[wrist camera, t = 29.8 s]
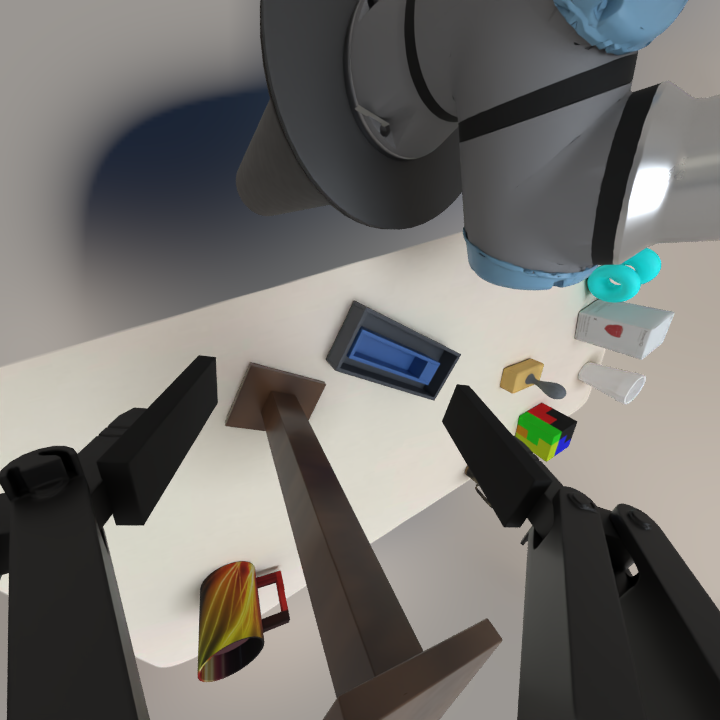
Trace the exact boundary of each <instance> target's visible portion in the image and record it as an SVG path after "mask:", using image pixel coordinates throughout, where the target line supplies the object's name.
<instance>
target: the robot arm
mask: <svg viewBox="0 0 720 720" xmlns="http://www.w3.org/2000/svg"><path fill="white" fill-rule="evenodd" d="M687 1H688V0H359V1H358V2H357V4H356V6H355V8H354V10H353V12H352V15H351V17H350V20H349V24H348V27H347V31H346V37H345V43H344V55H343V67H344V80H345V87H346V92H347V97H348V101H349V104H350V107H351V110H352V113H353V116H354V118H355V120H356V122H357V125H358V126H359V128H360V130H361V132H362V133H363V135H364V136H365V138H366V139H367V140H368V142H369V143H370V144H371V145H372V146H373V147H374V148H375V149H376V150H377V151H378V152H380V153H381V154H383V155H384V156H386V157H388V158H390V159H393V160H397V161H410V160H414V159H417V158H420V157H423V156H425V155H427V154H429V153H431V152H432V151H434V150H435V149H436V148H437V147H438V146H440V145H441V144H442V143H443V142H444V141H445V140H446V139H447V138H448V137H449V135H450V134H451V133H452V132H453V131H454V130H455V129H456V128H457V127H459V147H460V163H461V179H462V195H463V211H464V228H463V235H464V239H465V241H466V244H467V252H468V261H469V264H470V267H471V268H472V269H473V270H474V271H475V273H476V274H477V275H478V276H479V277H480V278H482V279H484V280H485V281H487V282H490V283H492V284H495V285H498V286H502V287H507V288H512V289H520V290H547V289H551V288H552V286H557V287H566V286H570V285H574V284H576V283H579V282H581V281H582V280H584V279H586V278H588V277H589V276H590V275H591V274H592V272H593V271H594V270H595V269H596V268H597V267H598V265H620V264H622V263H623V262H625V261H627V260H628V259H630V258H631V257H633V256H634V255H636V254H637V253H639V252H640V251H642V250H643V249H645V248H647V247H649V246H652V245H654V244H657V243H677V242H698V241H718V240H720V95H717V96H713V97H709V98H694V97H692V96H691V95H689V94H688V93H686V92H685V91H684V90H682V89H681V88H680V87H678V86H677V85H676V84H674V83H673V82H671V81H666V82H662V83H660V84H657V85H654V86H651V87H648V88H645V89H642V90H639V91H636V92H631V91H630V90H631V84H632V83H630V82H632V79H633V75H634V70H635V65H636V60H637V54H638V50H639V49H642V48H644V47H646V46H647V45H649V44H650V43H651V42H652V41H653V40H654V38H656V37H657V36H658V35H660V34H661V33H663V32H664V31H665V30H666V29H667V28H668V27H669V26H670V25H671V24H672V23H673V22H674V20H675V19H676V18H677V16H678V15H679V14H680V12H681V11H682V10H683V8H684V6H685V4H686V3H687ZM217 403H218V397H217V375H216V357H209V356H200V355H199V356H198V357H197V358H196V359H195V360H194V361H193V362H192V363H191V364H190V365H189V366H188V367H187V368H186V369H185V370H184V371H183V372H182V373H181V374H180V375H179V376H178V377H177V379H176V380H175V381H174V382H173V383H172V384H171V385H170V386H169V387H168V388H167V389H166V390H165V391H164V392H163V393H162V394H161V395H160V396H159V397H158V398H157V399H156V400H155V401H154V402H153V403H152V404H151V405H150V406H149V408H148V409H145V408H133V409H131V410H129V411H127V412H125V413H123V414H121V415H119V416H118V417H117V418H116V419H115V420H114V421H113V422H112V423H110V424H109V425H108V428H105V429H104V430H103V431H102V432H101V433H100V434H99V436H96V437H95V438H94V439H93V440H92V441H91V442H90V443H89V444H88V445H87V446H86V447H85V448H84V449H82V450H81V451H80V452H79V453H78V454H77V453H76V451H75V450H74V449H73V448H70V447H67V446H51V447H46V448H42V449H38V450H35V451H32V452H29V453H27V454H24V455H22V456H20V457H19V458H17V459H15V460H13V461H11V462H10V463H9V464H8V465H6V466H5V467H4V468H3V469H2V470H1V471H0V484H1V486H2V488H3V490H4V491H5V493H2V494H0V579H1V576H2V575H3V574H7V573H9V612H8V614H9V615H8V683H7V684H8V685H7V720H150V718H149V714H148V710H147V706H146V702H145V698H144V693H143V689H142V685H141V681H140V677H139V672H138V668H137V664H136V660H135V656H134V652H133V647H132V643H131V639H130V635H129V631H128V627H127V622H126V618H125V614H124V610H123V606H122V602H121V597H120V593H119V589H118V585H117V581H116V577H115V572H114V568H113V564H112V560H111V556H110V552H109V547H108V543H107V539H106V535H105V531H104V528H103V526H104V525H105V523H106V522H107V521H108V519H109V518H110V516H111V515H112V514H113V517H114V520H115V523H116V525H144V524H145V522H146V521H147V519H148V517H149V516H150V514H151V512H152V511H153V509H154V507H155V506H156V504H157V502H158V501H159V499H160V497H161V496H162V494H163V493H164V491H165V489H166V488H167V486H168V484H169V483H170V481H171V479H172V478H173V476H174V474H175V473H176V471H177V469H178V468H179V466H180V464H181V463H182V461H183V459H184V458H185V456H186V454H187V453H188V451H189V450H190V448H191V446H192V445H193V443H194V441H195V440H196V438H197V436H198V435H199V433H200V431H201V430H202V428H203V426H204V425H205V423H206V421H207V420H208V418H209V416H210V415H211V413H212V411H213V410H214V408H215V407H216V405H217ZM442 422H443V424H444V426H445V427H446V429H447V431H448V433H449V434H450V436H451V438H452V439H453V441H454V443H455V445H456V446H457V448H458V450H459V451H460V453H461V455H462V457H463V458H464V460H465V462H466V463H467V465H468V467H469V469H470V470H471V472H472V474H473V475H474V477H475V479H476V480H477V482H478V484H479V486H480V487H481V489H482V491H483V492H484V494H485V496H486V497H487V499H488V501H489V503H490V504H491V506H492V508H493V509H494V511H495V513H496V515H497V516H498V518H499V520H500V521H501V523H502V525H503V526H504V527H521V526H522V524H523V523H524V521H525V520H526V518H528V520H529V521H530V522H531V524H532V527H531V528H530V530H529V531H528V532H527V534H526V535H525V536H524V538H523V539H522V541H521V544H522V545H524V544H525V542H527V541H528V553H527V569H526V585H525V601H524V618H523V619H524V620H523V635H522V651H521V668H520V684H519V700H518V717H517V720H720V611H719V610H718V608H717V607H716V605H715V604H714V603H713V601H712V600H711V598H710V597H709V595H708V594H707V593H706V591H705V590H704V588H703V587H702V586H701V585H700V583H699V581H698V580H697V579H696V577H695V576H694V574H693V573H692V572H691V571H690V569H689V568H688V566H687V565H686V564H685V562H684V561H683V559H682V558H681V556H680V555H679V554H678V552H677V551H676V549H675V548H674V547H673V545H672V544H671V542H670V541H669V540H668V538H667V537H666V536H665V534H664V533H663V531H662V530H661V528H660V527H659V526H658V525H657V524H656V523H655V522H654V521H653V520H652V519H651V518H650V517H649V516H648V515H647V514H645V513H644V512H642V511H641V510H639V509H636V508H634V507H632V506H630V505H626V504H619V505H617V506H616V507H615V508H614V510H613V511H610V510H606V509H603V508H600V507H597V506H596V505H595V503H593V501H592V500H591V499H590V498H588V497H587V496H586V495H585V494H583V493H581V492H580V491H578V490H576V489H573V488H571V487H566V486H563V485H562V484H561V483H560V482H559V481H558V480H557V478H556V477H555V476H554V475H553V474H552V473H551V472H550V471H549V470H548V468H547V467H546V466H545V465H544V464H543V463H542V462H541V461H539V459H538V457H537V456H536V455H535V454H533V452H532V451H531V450H530V449H529V447H528V446H527V445H526V444H525V443H523V442H522V441H521V440H519V439H518V438H517V437H515V436H513V435H512V434H511V433H510V432H509V431H508V430H507V429H506V427H505V426H504V425H503V424H502V423H501V422H500V421H499V419H498V418H497V417H496V416H495V415H494V414H493V413H492V411H491V410H490V409H489V408H488V407H487V406H486V405H485V404H484V402H483V401H482V400H481V399H480V398H479V397H478V396H477V394H476V393H475V392H474V391H473V390H472V389H471V388H470V386H467V385H459V384H457V385H456V388H455V390H454V393H453V395H452V398H451V400H450V403H449V405H448V408H447V410H446V413H445V415H444V418H443V420H442ZM633 563H635V564H636V566H637V569H638V573H637V574H636V575H635V576H632V574H631V572H630V571H629V569H628V568H629V567H630V566H631V565H632V564H633Z"/></svg>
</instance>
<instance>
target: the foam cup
mask: <svg viewBox="0 0 720 720" xmlns="http://www.w3.org/2000/svg"><path fill="white" fill-rule="evenodd" d="M578 379H579V380H581V381H583V382H585V383H586V384H588V385H590V386H592V387H594V388H595V389H597V390H599V391H601V392H603V393H604V394H606V395H608V396H610V397H612V398H614V399H615V400H616V401H619V402H621V403H623V404H628V403H630V402H631V401H632V400H633V399H634V398H635V397H636V396H637V395H638V393H639V392H640V390H641V389H642V387H643V385H644V383H645V380H646V376H645V375H642V374H639V373H636V372H630V371H625V370H621V369H617V368H612V367H609V366H604V365H600V364H596V363H591V362H588V363H586V364H585V365H584V366H583V367H582V369H581V370H580V372H579V375H578Z"/></svg>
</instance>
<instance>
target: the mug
mask: <svg viewBox="0 0 720 720" xmlns="http://www.w3.org/2000/svg"><path fill="white" fill-rule="evenodd" d="M273 583H276V585H277V591H278V596H279V602H280V606H281V612H280V613H278V614H274V615H272V616H269V617H266V618H264V619H261V612H260V604H259V596H258V588H261V587H264V586H267V585H270V584H273ZM284 590H285V589H284V584H283V579H282V574H281V571H277V572H274V573H271V574H267V575H264V576H261V577H257V578H256V573H255V567H254V565H253V564H251V563H249V562H243V561H241V562H234V563H231V564H228V565H225V566H223V567H221V568H219V569H217V570H215V571H214V572H213V573H211V574H210V575H209V576H208V577H207V578H206V579H205V580H204V581H203V583H202V585H201V588H200V615H199V647H198V679H199V680H200V681H202V682H213V681H217V680H220V679H223V678H225V677H228V676H230V675H232V674H234V673H236V672H237V671H239V670H241V669H242V668H243V667H245V666H246V665H248V664H249V663H250V662H251V661H253V660H254V659H255V658H256V657H257V656H258V654H259V653H260V651H261V650H262V649H263V646H264V636H263V633H264V632H266V631H268V630H271V629H273V628H276V627H278V626H281V625H283V624H286V623H288V622H289V620H290V617H289V613H288V607H287V602H286V597H285V592H284Z"/></svg>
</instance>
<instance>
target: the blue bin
mask: <svg viewBox="0 0 720 720" xmlns="http://www.w3.org/2000/svg"><path fill="white" fill-rule="evenodd" d="M346 356H347V357H348V358H350V359H353V360H356V361H359V362H362V363H365V364H368V365H370V366H373V367H376V368H379V369H382V370H385V371H388V372H391V373H394V374H397V375H399V376H402V377H405V378H408V379H411V380H414V381H417V382H420V383H423V384H426V385H428V384H429V382H430V381H431V379H432V377H433V376H434V374H435V372H436V370H437V369H438V367H439V365H440V363H439V362H438V361H436V360H434V359H432V358H431V357H429V356H427V355H426V354H423V353H421V352H419V351H416V350H414V349H412V348H410V347H407V346H405V345H403V344H401V343H398V342H396V341H394V340H392V339H389V338H387V337H385V336H383V335H380V334H378V333H376V332H374V331H371V330H369V329H367V328H365V327H362V326H361V327H360V329H359V331H358V333H357V335H356V337H355V339H354V341H353V343H352V345H351V347H350V349H349V351H348V353H347V355H346Z"/></svg>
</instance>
